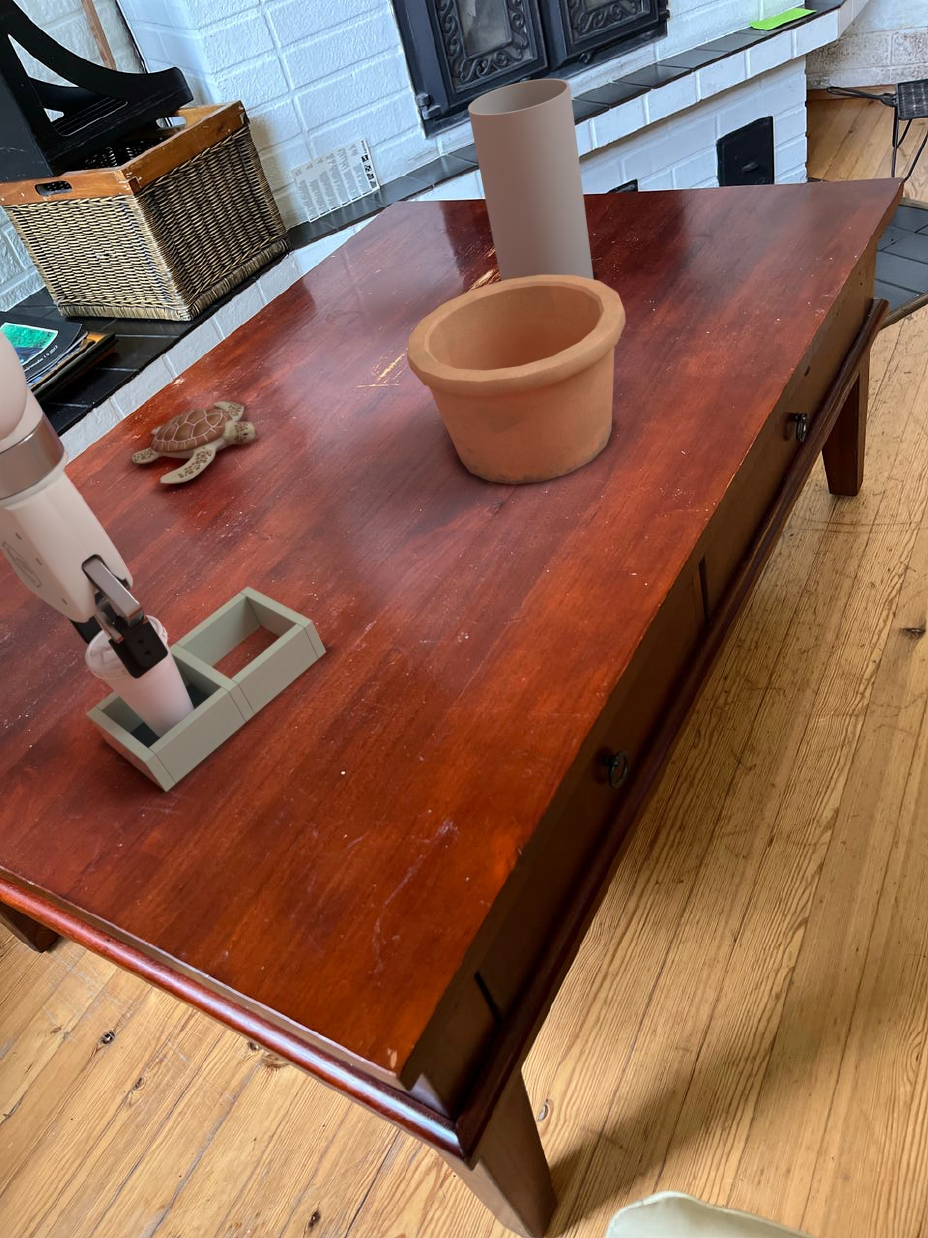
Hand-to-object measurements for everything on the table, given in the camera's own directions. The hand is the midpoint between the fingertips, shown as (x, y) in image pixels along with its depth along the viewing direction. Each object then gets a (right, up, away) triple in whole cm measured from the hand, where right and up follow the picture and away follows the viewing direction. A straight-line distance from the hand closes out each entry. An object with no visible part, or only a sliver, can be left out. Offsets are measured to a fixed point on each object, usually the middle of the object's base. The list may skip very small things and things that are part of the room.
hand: (126, 647), depth 72 cm
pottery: (+34, +21, +29) cm, 50 cm away
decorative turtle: (-6, +24, +44) cm, 51 cm away
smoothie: (+2, -7, +6) cm, 9 cm away
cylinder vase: (+38, +48, +56) cm, 83 cm away
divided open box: (+5, -5, +9) cm, 12 cm away
